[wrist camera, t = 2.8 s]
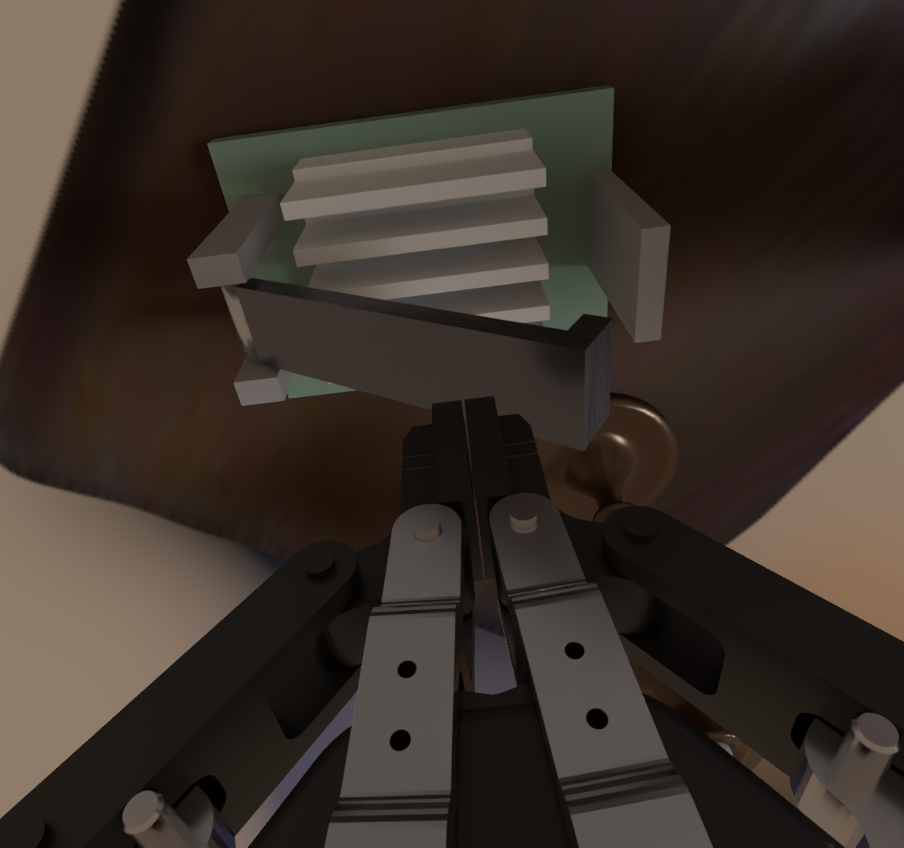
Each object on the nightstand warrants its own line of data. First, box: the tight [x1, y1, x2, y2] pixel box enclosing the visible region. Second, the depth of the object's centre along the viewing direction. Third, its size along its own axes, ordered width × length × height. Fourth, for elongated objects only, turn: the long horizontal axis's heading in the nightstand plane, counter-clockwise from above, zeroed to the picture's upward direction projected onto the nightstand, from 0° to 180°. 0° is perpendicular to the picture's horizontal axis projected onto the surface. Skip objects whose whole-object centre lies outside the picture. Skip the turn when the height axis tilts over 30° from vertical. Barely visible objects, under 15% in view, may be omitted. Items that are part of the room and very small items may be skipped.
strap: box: [220, 278, 613, 451], centre depth 19 cm, size 14×3×2 cm
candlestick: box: [534, 393, 763, 770], centre depth 21 cm, size 11×11×35 cm
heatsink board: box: [187, 85, 671, 406], centre depth 25 cm, size 16×12×8 cm
